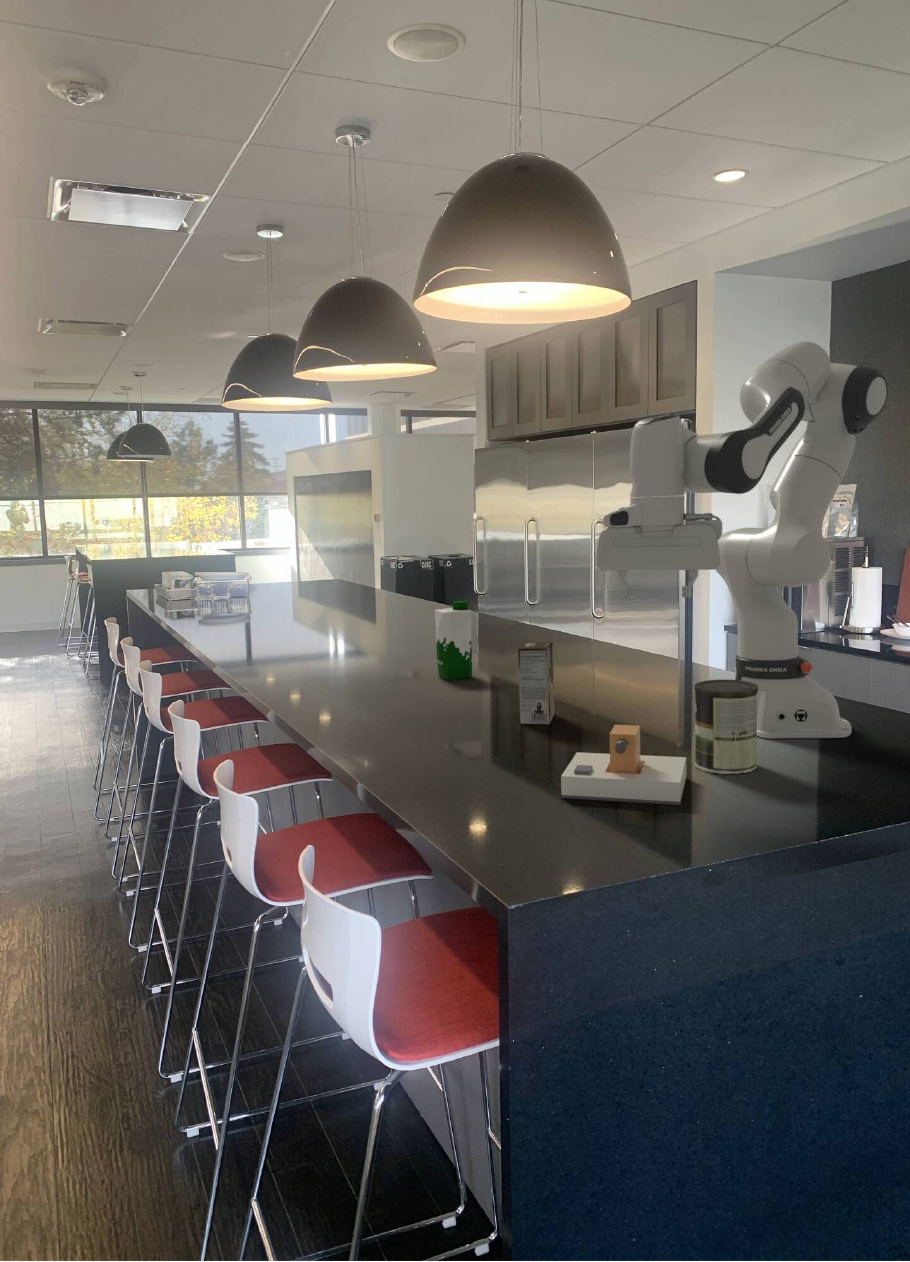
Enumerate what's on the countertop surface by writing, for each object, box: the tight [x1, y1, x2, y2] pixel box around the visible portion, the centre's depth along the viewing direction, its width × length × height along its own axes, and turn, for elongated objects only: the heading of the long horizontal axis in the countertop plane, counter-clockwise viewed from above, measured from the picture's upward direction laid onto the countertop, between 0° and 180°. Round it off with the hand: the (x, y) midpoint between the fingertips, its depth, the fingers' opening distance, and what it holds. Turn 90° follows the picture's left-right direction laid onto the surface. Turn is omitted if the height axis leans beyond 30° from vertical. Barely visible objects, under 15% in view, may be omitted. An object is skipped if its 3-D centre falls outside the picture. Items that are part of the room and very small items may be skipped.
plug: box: [609, 724, 641, 774], centre depth 149 cm, size 4×9×9 cm, turn 162°
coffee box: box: [517, 640, 555, 725], centre depth 198 cm, size 9×6×16 cm
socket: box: [560, 751, 687, 806], centre depth 151 cm, size 18×14×4 cm
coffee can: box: [694, 679, 758, 775], centre depth 159 cm, size 10×10×14 cm
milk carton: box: [434, 600, 473, 681], centre depth 249 cm, size 9×9×20 cm
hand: (657, 597), depth 159 cm, fingers open, 8 cm apart
